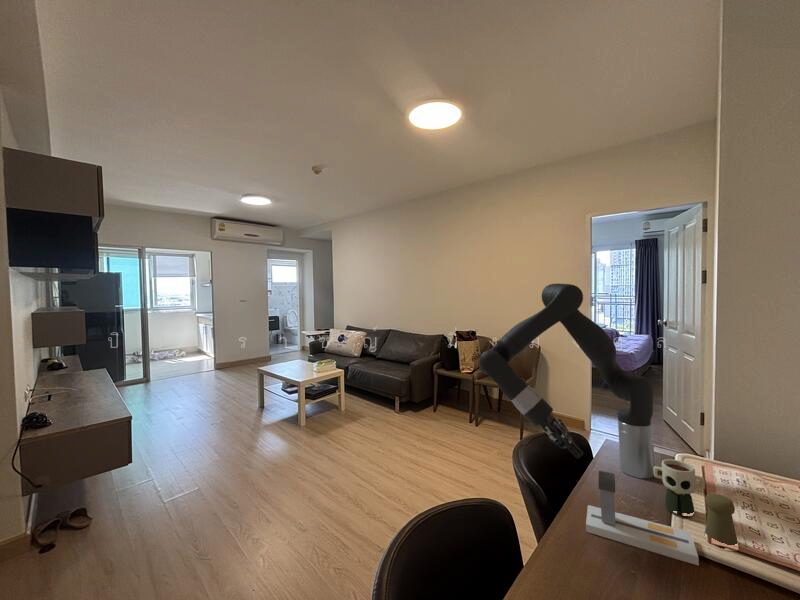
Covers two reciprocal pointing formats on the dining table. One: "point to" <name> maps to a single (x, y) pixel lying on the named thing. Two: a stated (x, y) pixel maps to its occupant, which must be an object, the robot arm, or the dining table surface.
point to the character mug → (679, 484)
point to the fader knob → (607, 496)
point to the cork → (720, 519)
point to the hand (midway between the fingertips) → (580, 455)
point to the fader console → (644, 535)
